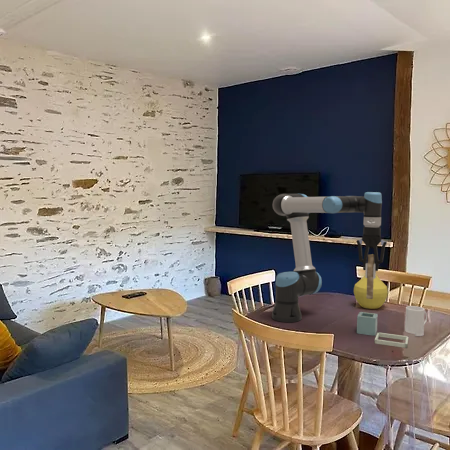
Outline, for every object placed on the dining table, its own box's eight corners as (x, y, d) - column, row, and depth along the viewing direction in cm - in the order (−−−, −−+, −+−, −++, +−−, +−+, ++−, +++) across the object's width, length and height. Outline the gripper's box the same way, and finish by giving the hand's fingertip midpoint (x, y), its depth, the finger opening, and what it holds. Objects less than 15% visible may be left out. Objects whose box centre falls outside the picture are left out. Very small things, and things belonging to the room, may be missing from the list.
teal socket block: (356, 335, 211) (357, 316, 210) (359, 330, 218) (359, 311, 217) (374, 337, 207) (375, 318, 207) (376, 332, 215) (377, 313, 214)
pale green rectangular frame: (374, 345, 197) (374, 339, 197) (377, 337, 207) (377, 332, 207) (406, 350, 192) (407, 344, 192) (408, 342, 202) (408, 336, 202)
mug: (420, 329, 221) (422, 304, 220) (433, 334, 213) (435, 309, 211) (400, 331, 217) (401, 306, 216) (412, 337, 209) (414, 311, 208)
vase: (346, 303, 267) (348, 252, 264) (374, 301, 272) (375, 251, 270) (365, 312, 249) (367, 257, 247) (394, 309, 255) (396, 256, 252)
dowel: (366, 298, 210) (367, 255, 208) (366, 297, 212) (368, 254, 211) (372, 299, 209) (373, 255, 207) (373, 297, 211) (374, 254, 209)
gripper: (352, 226, 207) (351, 277, 209) (389, 227, 201) (387, 280, 203) (355, 225, 214) (353, 274, 216) (391, 226, 208) (389, 277, 210)
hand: (370, 277), depth 210 cm, fingers closed on dowel, 3 cm apart
